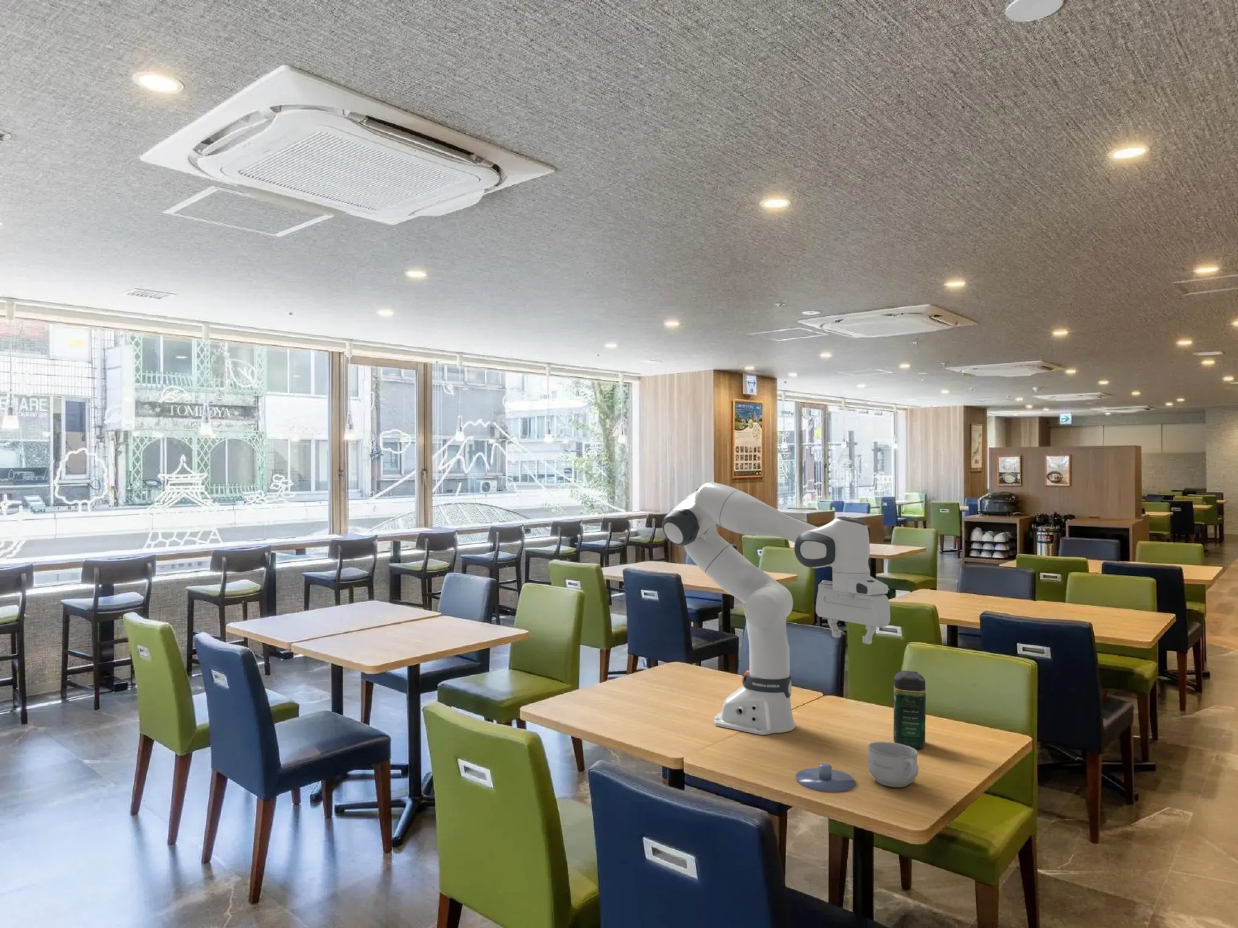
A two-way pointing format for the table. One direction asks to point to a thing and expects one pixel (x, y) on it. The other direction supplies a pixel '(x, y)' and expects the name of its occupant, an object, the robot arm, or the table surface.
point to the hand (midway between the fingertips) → (851, 640)
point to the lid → (825, 779)
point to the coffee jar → (909, 709)
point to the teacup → (892, 763)
